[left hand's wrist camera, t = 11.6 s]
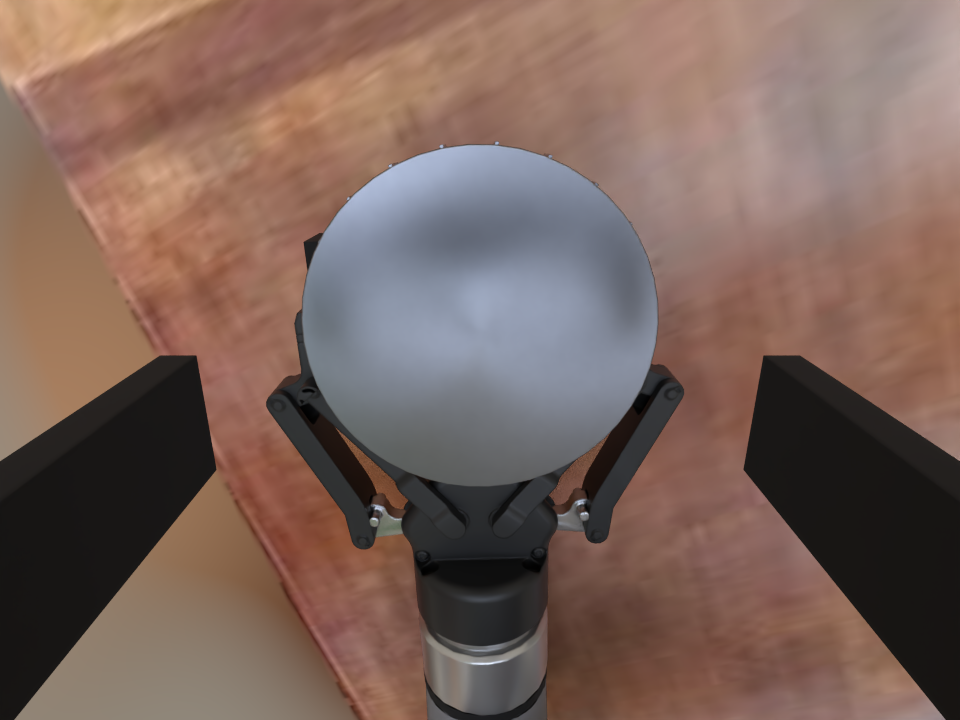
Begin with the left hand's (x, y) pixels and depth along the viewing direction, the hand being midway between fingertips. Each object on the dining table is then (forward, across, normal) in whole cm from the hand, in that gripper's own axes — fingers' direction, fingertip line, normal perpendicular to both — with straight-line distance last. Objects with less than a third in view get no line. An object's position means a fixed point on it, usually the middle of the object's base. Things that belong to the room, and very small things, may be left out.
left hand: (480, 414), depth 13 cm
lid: (+6, 0, 0) cm, 6 cm away
